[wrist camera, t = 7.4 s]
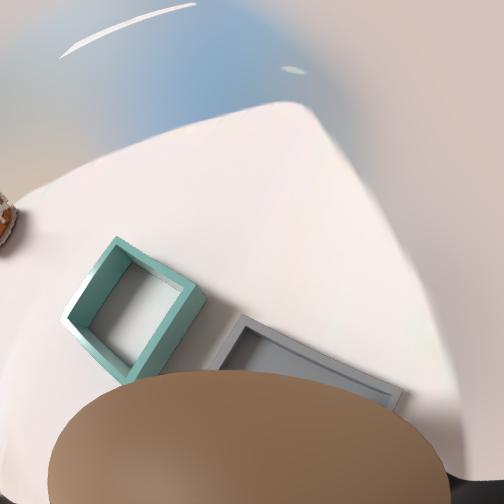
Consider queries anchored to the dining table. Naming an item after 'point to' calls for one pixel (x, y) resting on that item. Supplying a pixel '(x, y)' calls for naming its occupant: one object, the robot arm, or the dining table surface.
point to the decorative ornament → (6, 218)
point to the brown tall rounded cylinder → (241, 445)
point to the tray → (295, 362)
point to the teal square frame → (99, 289)
